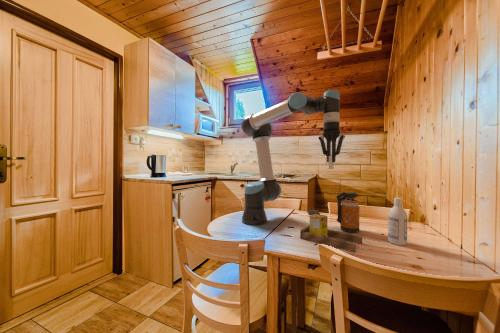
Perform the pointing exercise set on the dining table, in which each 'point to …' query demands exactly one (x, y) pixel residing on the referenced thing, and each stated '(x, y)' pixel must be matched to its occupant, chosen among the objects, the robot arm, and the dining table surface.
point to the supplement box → (318, 224)
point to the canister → (348, 212)
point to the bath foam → (397, 224)
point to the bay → (331, 233)
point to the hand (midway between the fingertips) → (331, 168)
